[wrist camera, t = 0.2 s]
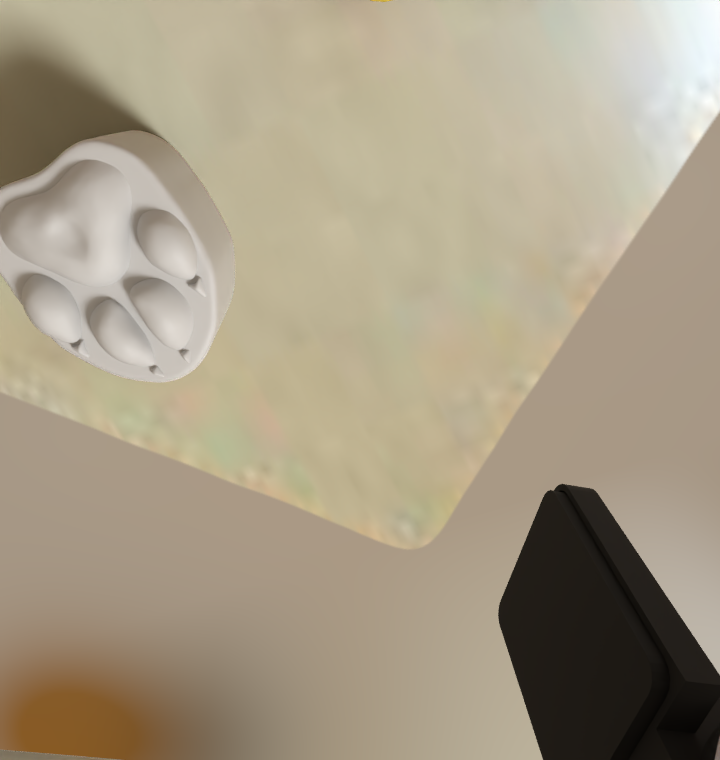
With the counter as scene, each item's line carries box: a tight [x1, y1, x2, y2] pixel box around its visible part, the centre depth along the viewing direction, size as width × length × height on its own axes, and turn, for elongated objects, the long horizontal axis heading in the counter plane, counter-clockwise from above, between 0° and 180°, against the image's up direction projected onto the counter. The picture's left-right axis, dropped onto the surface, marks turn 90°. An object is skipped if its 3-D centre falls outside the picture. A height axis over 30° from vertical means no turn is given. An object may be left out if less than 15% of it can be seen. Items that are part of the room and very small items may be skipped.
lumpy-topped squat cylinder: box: [0, 130, 235, 382], centre depth 35 cm, size 10×13×9 cm
